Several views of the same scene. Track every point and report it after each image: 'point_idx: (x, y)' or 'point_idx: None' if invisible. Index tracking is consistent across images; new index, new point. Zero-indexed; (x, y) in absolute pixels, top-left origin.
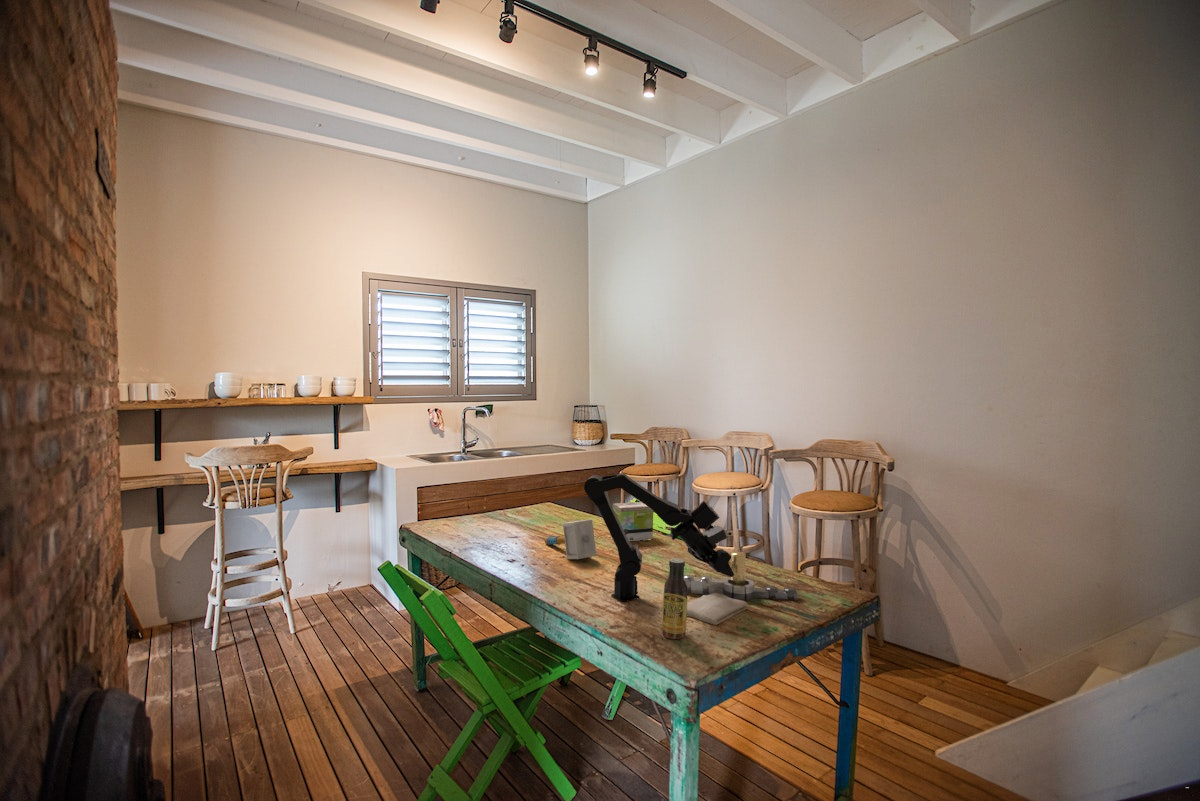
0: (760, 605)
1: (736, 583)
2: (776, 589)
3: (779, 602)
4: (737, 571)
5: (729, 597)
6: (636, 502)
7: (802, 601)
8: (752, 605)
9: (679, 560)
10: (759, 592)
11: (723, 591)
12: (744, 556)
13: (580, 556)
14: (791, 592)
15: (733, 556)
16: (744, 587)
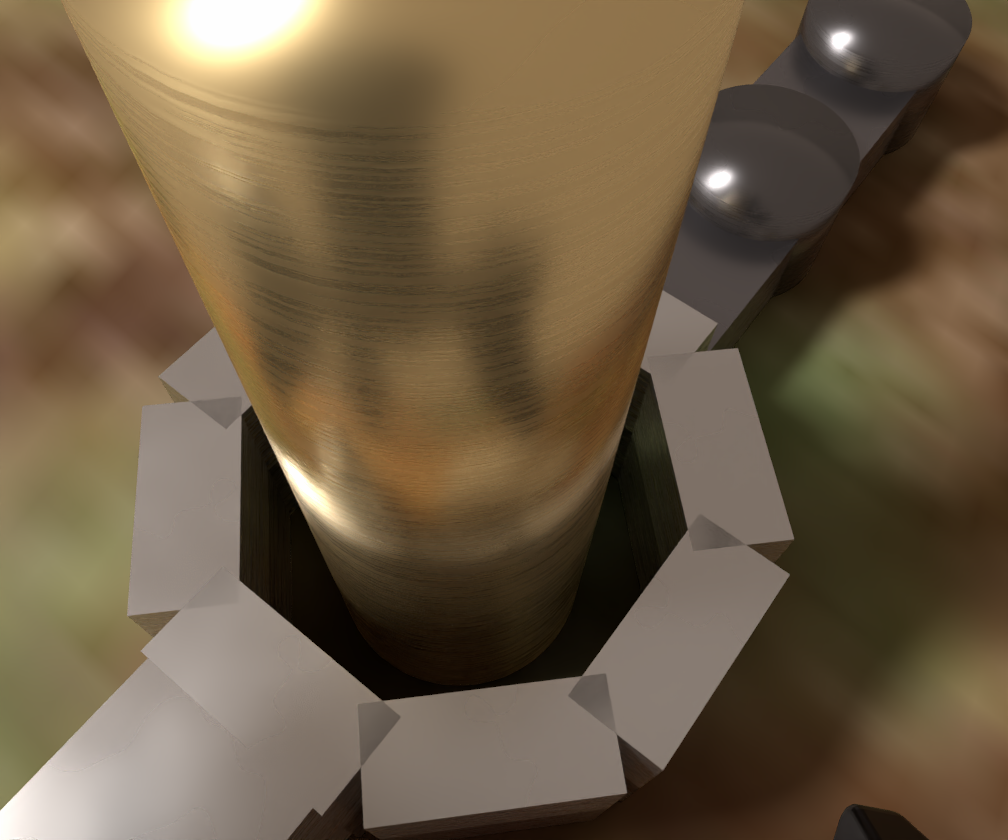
0: (975, 562)
1: (545, 586)
2: (844, 132)
3: (934, 276)
4: (587, 453)
5: (537, 827)
6: None
7: (971, 68)
8: (945, 675)
9: None
10: (727, 336)
11: (356, 826)
12: None
13: None
14: (957, 52)
15: (449, 191)
16: (784, 578)
